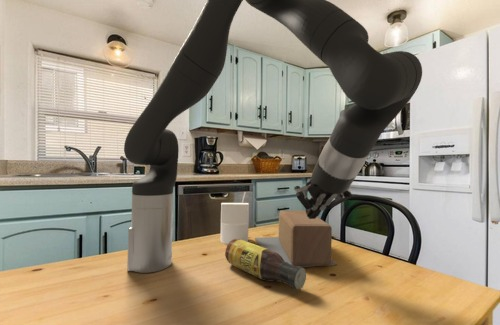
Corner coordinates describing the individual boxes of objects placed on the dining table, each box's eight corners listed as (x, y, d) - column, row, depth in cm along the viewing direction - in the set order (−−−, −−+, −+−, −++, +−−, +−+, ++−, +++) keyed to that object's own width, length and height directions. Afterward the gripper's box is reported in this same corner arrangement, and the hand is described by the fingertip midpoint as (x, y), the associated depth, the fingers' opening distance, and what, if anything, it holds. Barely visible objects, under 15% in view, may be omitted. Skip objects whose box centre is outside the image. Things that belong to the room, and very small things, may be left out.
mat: (274, 268, 58) (274, 267, 58) (254, 238, 81) (254, 237, 81) (336, 265, 61) (336, 263, 61) (300, 237, 84) (300, 236, 84)
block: (333, 225, 59) (309, 210, 79) (292, 225, 58) (278, 209, 78) (332, 266, 59) (308, 241, 79) (291, 266, 58) (278, 241, 78)
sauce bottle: (222, 242, 58) (289, 266, 44) (241, 234, 63) (308, 253, 48) (224, 269, 59) (292, 301, 44) (243, 259, 63) (310, 285, 49)
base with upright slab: (247, 236, 84) (248, 201, 84) (248, 245, 75) (249, 206, 75) (221, 236, 83) (222, 201, 84) (219, 245, 74) (220, 205, 75)
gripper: (362, 151, 49) (330, 202, 61) (300, 149, 47) (280, 202, 59) (380, 178, 44) (342, 228, 56) (311, 177, 42) (287, 230, 54)
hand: (310, 215), depth 57 cm, fingers closed
